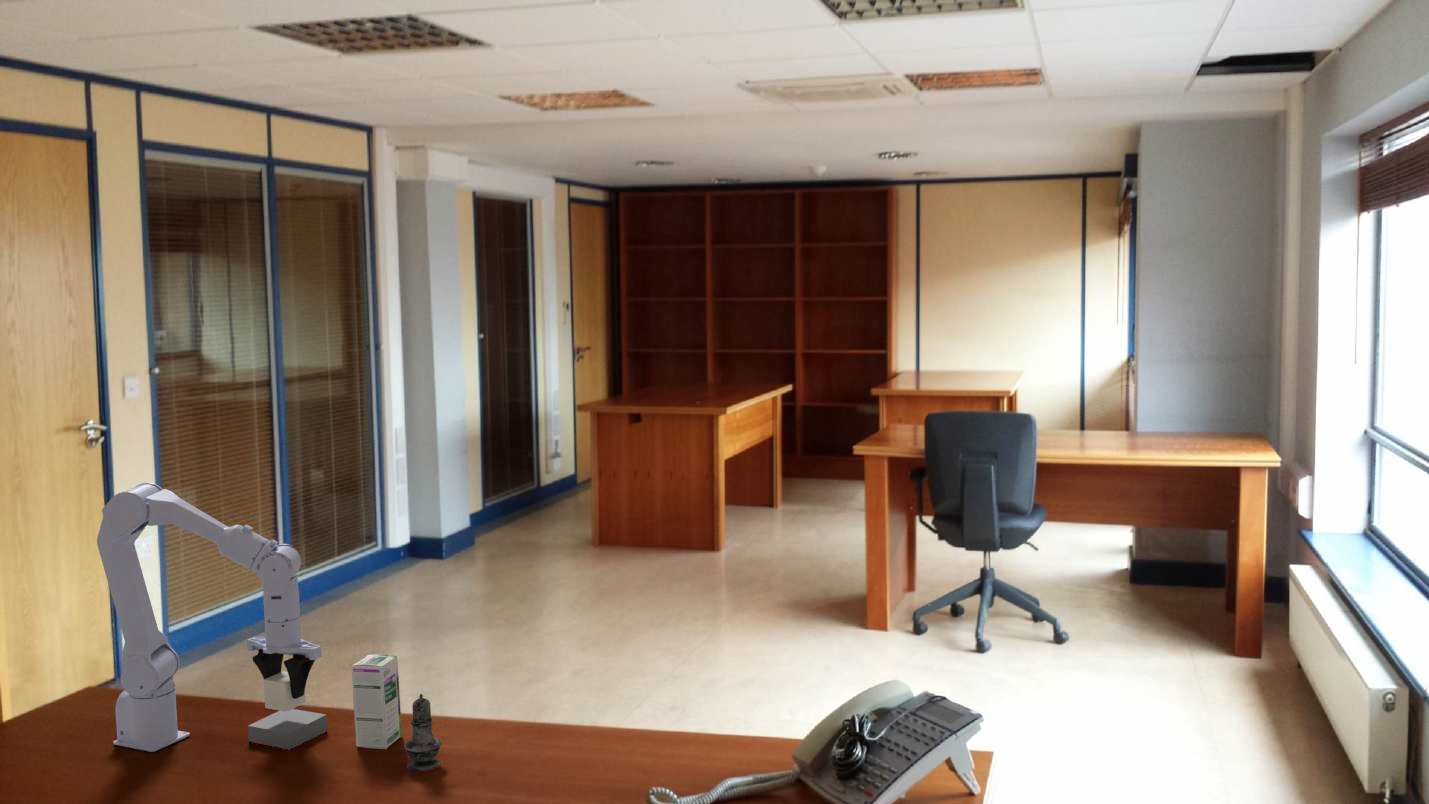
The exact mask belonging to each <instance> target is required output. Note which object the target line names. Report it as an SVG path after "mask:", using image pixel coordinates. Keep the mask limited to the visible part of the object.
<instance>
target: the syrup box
mask: <svg viewBox="0 0 1429 804" xmlns="http://www.w3.org/2000/svg"><path fill="white" fill-rule="evenodd" d="M398 660H399V659H398V656H397V655H392V654H384V653H382V654H379V653H377V654H376V653H375V654H367V655H366V656H365V657H364V658H362V659H360V660H358V661H357V662H356V663H354V664H352V665H351V666H350V667H351V684H352V696H353V697H352V699H353V715H354V728H355V729H354V731H355V746H356V747H358V748H365V749H374V750H375V749H379V750H388V748H389V747H390V746H391V745H393V744H394V743H395V742H397V740H399V739H400V738H401V737H402V736H403V732H402V731H403V730H402V715H401V714H402V713H401V711H402V710H401V696H400V695H401V694H400V680H399V679H400V677H399V663H398V662H399V661H398Z"/></svg>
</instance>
